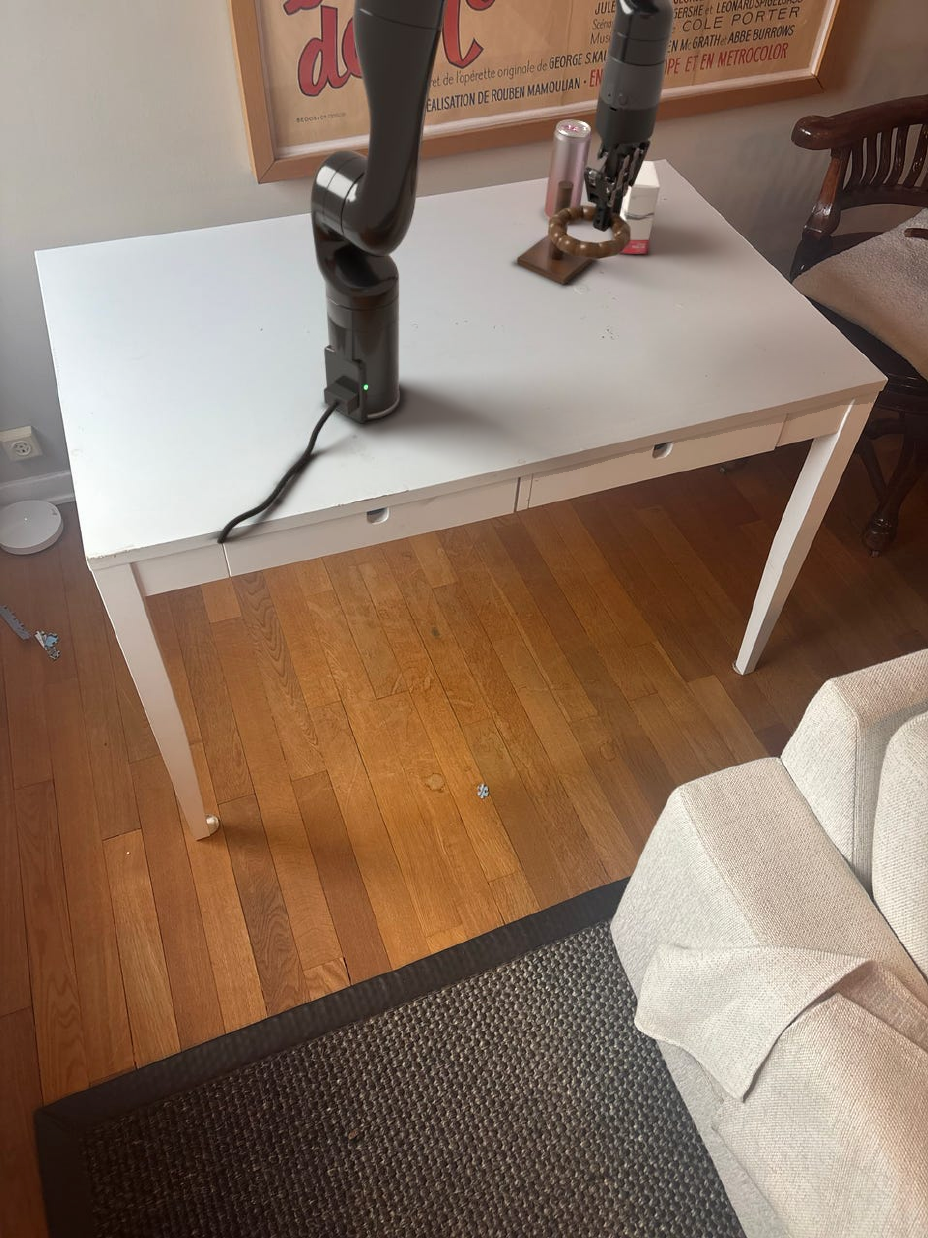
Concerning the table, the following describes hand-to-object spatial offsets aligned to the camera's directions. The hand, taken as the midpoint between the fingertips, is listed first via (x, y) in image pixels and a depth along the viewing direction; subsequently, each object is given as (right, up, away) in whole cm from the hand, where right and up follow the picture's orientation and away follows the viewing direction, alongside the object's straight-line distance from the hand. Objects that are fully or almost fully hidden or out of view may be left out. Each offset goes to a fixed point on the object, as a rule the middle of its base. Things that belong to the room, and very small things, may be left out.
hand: (605, 224), depth 132 cm
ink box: (+9, +10, +31) cm, 34 cm away
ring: (-3, -2, -3) cm, 4 cm away
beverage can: (-3, +16, +35) cm, 38 cm away
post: (-5, +4, +25) cm, 26 cm away
